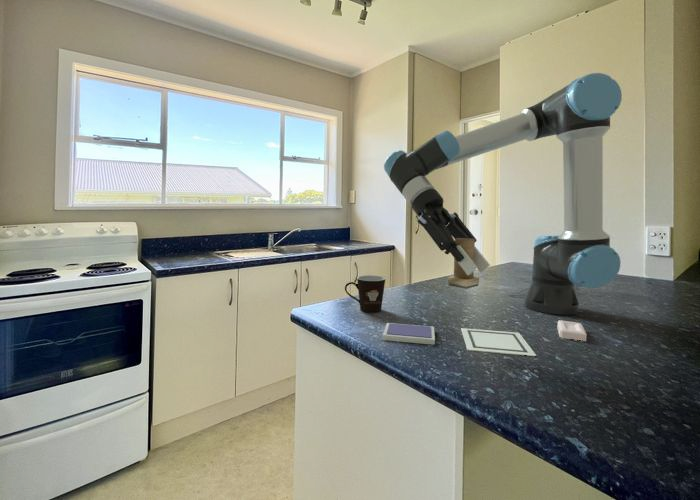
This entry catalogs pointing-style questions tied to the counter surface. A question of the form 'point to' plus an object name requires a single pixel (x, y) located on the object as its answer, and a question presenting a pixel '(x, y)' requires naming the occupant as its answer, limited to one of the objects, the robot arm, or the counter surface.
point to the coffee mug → (369, 292)
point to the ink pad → (409, 333)
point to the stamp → (460, 275)
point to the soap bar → (571, 330)
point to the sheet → (496, 342)
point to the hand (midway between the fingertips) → (478, 270)
